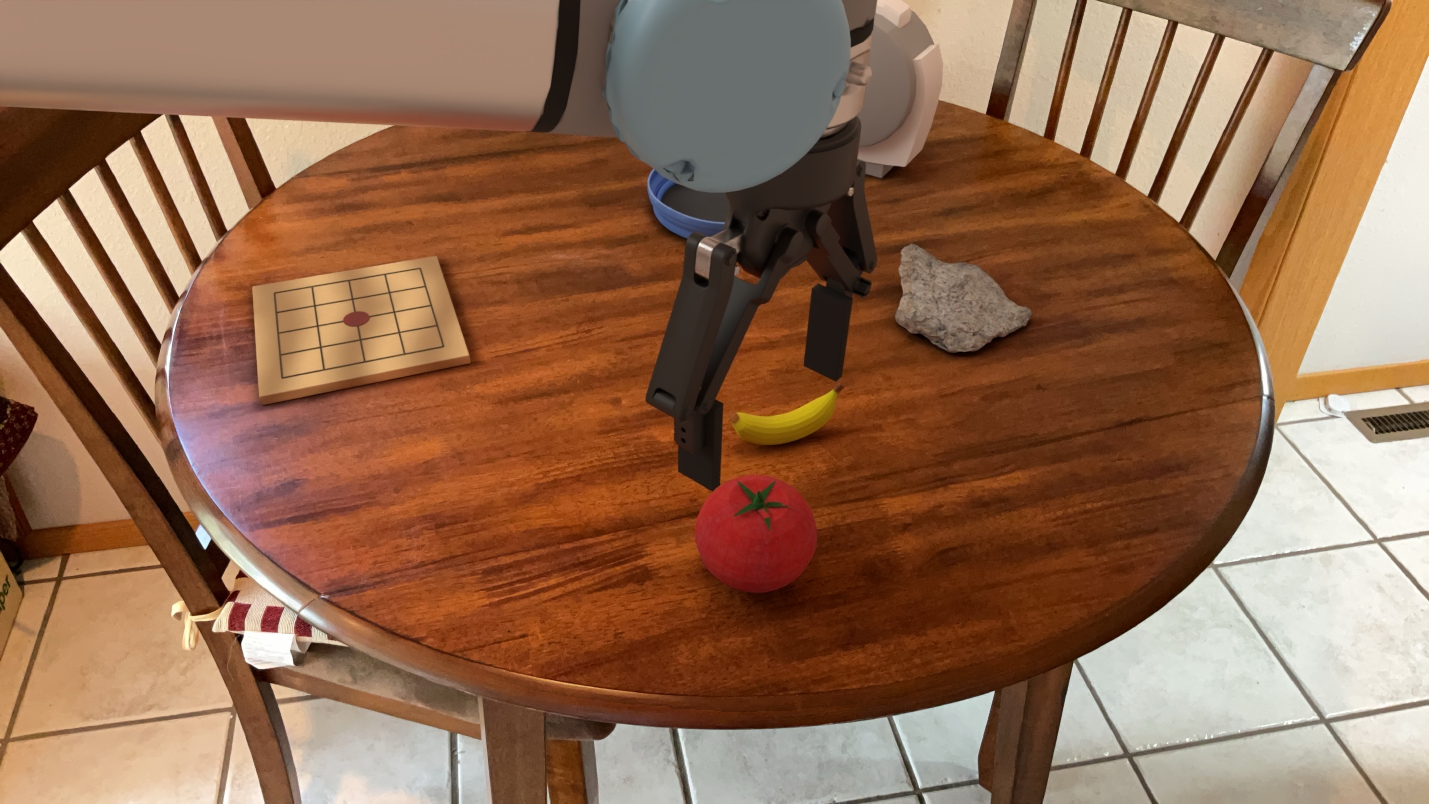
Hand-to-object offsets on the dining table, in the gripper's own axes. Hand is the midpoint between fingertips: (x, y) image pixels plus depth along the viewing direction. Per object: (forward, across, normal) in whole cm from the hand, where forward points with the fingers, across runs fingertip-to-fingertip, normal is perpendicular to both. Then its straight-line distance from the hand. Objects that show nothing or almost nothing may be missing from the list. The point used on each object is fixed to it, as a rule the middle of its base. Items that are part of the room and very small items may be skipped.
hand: (764, 421), depth 63 cm
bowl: (+14, +40, +34) cm, 55 cm away
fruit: (+14, +13, +6) cm, 20 cm away
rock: (+15, +39, +4) cm, 42 cm away
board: (+14, -1, +46) cm, 49 cm away
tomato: (+14, 0, 0) cm, 14 cm away
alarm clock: (+15, +61, +30) cm, 70 cm away
